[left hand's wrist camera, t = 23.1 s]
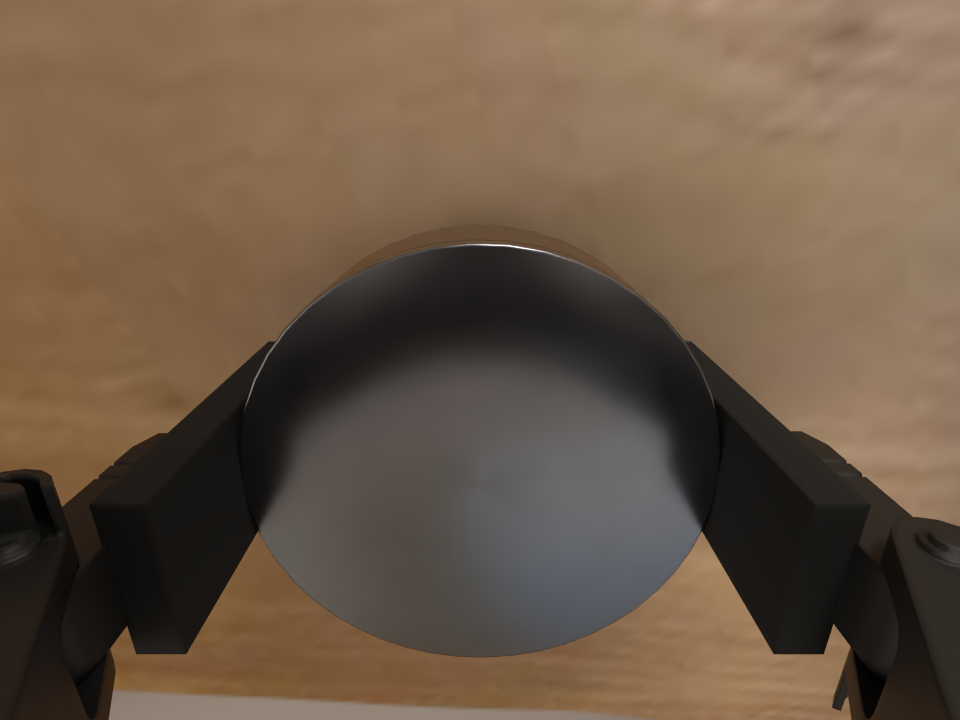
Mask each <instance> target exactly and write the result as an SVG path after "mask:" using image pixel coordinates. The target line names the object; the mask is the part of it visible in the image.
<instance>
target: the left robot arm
mask: <svg viewBox="0 0 960 720" xmlns="http://www.w3.org/2000/svg"><path fill="white" fill-rule="evenodd" d="M274 343H275V342H268V343H267V344H266V345H264V346H263V347H262V348H261V349H260V350H259V351H258V352H257V353H256V354H254V355H253V356H252V357H251V358H250V359H249V360H248V361H247V362H246V363H245V364H243V365H242V366H241V367H240V368H239V369H238V370H237V371H236V372H235V373H234V374H232V375H231V376H230V377H229V378H228V379H227V380H226V381H225V382H224V383H222V384H221V385H220V386H219V387H218V388H217V389H216V390H215V391H214V392H213V393H211V394H210V395H209V396H208V397H207V398H206V399H205V400H204V401H203V402H202V403H200V404H199V405H198V406H197V407H196V408H195V409H194V410H193V411H192V412H190V413H189V414H188V415H187V416H186V417H185V418H184V419H183V420H182V421H181V422H179V423H178V424H177V425H176V426H175V427H174V428H173V429H172V430H171V431H170V432H168V433H159V434H157V435H155V436H153V437H151V438H149V439H147V440H145V441H143V442H141V443H139V444H137V445H135V446H133V447H132V448H131V449H130V450H128V451H127V452H126V453H125V454H124V455H123V456H121V457H120V458H119V459H118V460H117V461H115V462H114V466H110V467H108V468H107V469H106V470H105V471H104V472H103V473H101V474H100V475H99V479H94V480H93V481H92V482H91V483H90V484H89V485H87V486H86V487H85V488H84V489H83V490H82V491H80V492H79V493H78V494H77V495H76V496H75V497H73V498H72V499H71V500H70V501H69V502H67V503H66V504H65V505H64V506H63V507H62V506H61V503H60V500H59V497H58V494H57V491H56V488H55V486H54V483H53V480H52V477H51V475H49V474H47V473H46V472H44V471H42V470H31V469H22V470H14V471H6V472H1V473H0V720H109V713H110V706H111V699H112V693H113V686H114V679H115V672H116V671H115V665H114V659H113V656H112V653H111V650H110V648H111V646H112V645H113V644H114V642H115V641H116V640H117V638H118V637H119V636H120V634H121V633H122V632H123V630H124V629H125V628H126V626H128V629H129V633H130V636H131V639H132V642H133V645H134V648H135V652H136V654H186V653H187V652H188V650H189V648H190V647H191V645H192V643H193V641H194V640H195V638H196V636H197V635H198V633H199V631H200V629H201V628H202V626H203V624H204V623H205V621H206V619H207V617H208V616H209V614H210V612H211V611H212V609H213V607H214V605H215V604H216V602H217V600H218V599H219V597H220V595H221V593H222V592H223V590H224V588H225V587H226V585H227V583H228V581H229V580H230V578H231V576H232V575H233V573H234V571H235V569H236V568H237V566H238V564H239V563H240V561H241V559H242V557H243V556H244V554H245V552H246V551H247V549H248V547H249V545H250V544H251V542H252V540H253V539H254V537H255V535H256V533H257V532H258V528H257V526H256V524H255V522H254V519H253V517H252V515H251V512H250V508H249V505H248V502H247V499H246V495H245V490H244V485H243V479H242V474H241V467H240V432H241V426H242V420H243V414H244V408H245V404H246V401H247V398H248V395H249V392H250V389H251V386H252V383H253V380H254V378H255V376H256V374H257V372H258V370H259V368H260V366H261V364H262V362H263V360H264V358H265V357H266V355H267V353H268V351H269V350H270V349H271V347H272V346H273V344H274ZM686 344H687V346H688V347H689V349H690V350H691V352H692V354H693V355H694V357H695V359H696V360H697V362H698V364H699V365H700V367H701V369H702V372H703V374H704V376H705V379H706V381H707V384H708V386H709V389H710V391H711V393H712V397H713V401H714V405H715V409H716V413H717V418H718V422H719V434H720V447H721V454H720V467H719V475H718V481H717V486H716V491H715V496H714V500H713V504H712V507H711V510H710V512H709V515H708V517H707V520H706V522H705V525H704V527H703V530H702V532H703V534H704V535H705V537H706V539H707V540H708V542H709V544H710V546H711V547H712V549H713V551H714V552H715V554H716V556H717V558H718V559H719V561H720V563H721V564H722V566H723V568H724V570H725V571H726V573H727V575H728V576H729V578H730V580H731V582H732V583H733V585H734V587H735V588H736V590H737V592H738V594H739V595H740V597H741V599H742V600H743V602H744V604H745V606H746V607H747V609H748V611H749V612H750V614H751V616H752V618H753V619H754V621H755V623H756V624H757V626H758V628H759V630H760V631H761V633H762V635H763V636H764V638H765V640H766V642H767V643H768V645H769V647H770V648H771V650H772V652H773V654H824V652H825V648H826V645H827V642H828V639H829V636H830V633H831V630H832V626H833V623H834V625H835V626H836V627H837V629H838V630H839V631H840V633H841V634H842V635H843V637H844V638H845V639H846V641H847V642H848V643H849V645H850V646H851V647H850V650H849V653H848V656H847V659H846V662H845V665H844V668H843V671H842V674H841V677H840V680H839V683H838V686H837V689H836V692H835V695H834V699H833V705H832V708H834V709H837V710H840V711H841V709H842V706H843V703H844V700H845V698H847V697H848V698H849V704H850V711H851V718H852V720H960V527H959V526H956V525H952V524H949V523H946V522H943V521H939V520H934V519H927V518H920V517H914V518H913V517H912V516H911V515H910V514H909V513H908V512H906V511H905V510H904V509H903V508H902V507H901V506H899V505H898V504H897V503H896V502H895V501H893V500H892V499H891V498H890V497H889V496H888V495H886V494H885V493H884V492H883V491H882V490H880V489H879V488H878V487H877V486H876V485H875V484H873V483H872V482H871V481H870V480H869V479H867V478H866V477H862V473H860V472H859V471H858V470H857V469H856V468H854V467H853V466H852V465H851V464H847V463H846V460H845V459H844V458H843V457H841V456H840V455H839V454H838V453H837V452H836V451H834V450H833V449H832V448H831V447H830V446H829V445H827V444H825V443H823V442H821V441H819V440H817V439H815V438H813V437H811V436H809V435H807V434H805V433H804V432H802V431H789V430H788V429H787V428H786V427H785V426H784V425H783V424H782V423H781V422H779V421H778V420H777V419H776V418H775V417H774V416H773V415H772V414H771V413H769V412H768V411H767V410H766V409H765V408H764V407H763V406H762V405H761V404H760V403H758V402H757V401H756V400H755V399H754V398H753V397H752V396H751V395H750V394H749V393H747V392H746V391H745V390H744V389H743V388H742V387H741V386H740V385H739V384H737V383H736V382H735V381H734V380H733V379H732V378H731V377H730V376H729V375H728V374H726V373H725V372H724V371H723V370H722V369H721V368H720V367H719V366H718V365H716V364H715V363H714V362H713V361H712V360H711V359H710V358H709V357H708V356H707V355H705V354H704V353H703V352H702V351H701V350H700V349H699V348H698V347H697V346H696V345H694V344H693V343H692V342H686Z"/></svg>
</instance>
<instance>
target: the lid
mask: <svg viewBox="0 0 960 720" xmlns="http://www.w3.org/2000/svg"><path fill="white" fill-rule="evenodd" d="M720 454H721V447H720V434H719V422H718V418H717V413H716V409H715V405H714V401H713V397H712V393H711V391H710V389H709V386H708V384H707V381H706V379H705V376H704V374H703V372H702V369H701V367H700V365H699V364H698V362H697V360H696V359H695V357H694V355H693V354H692V352H691V350H690V349H689V347H688V346H687V344H686V342H685V341H684V340H683V338H682V337H681V336H680V335H679V334H678V332H677V331H676V330H675V329H674V328H673V326H672V325H671V324H670V323H669V322H668V321H667V319H666V318H665V317H664V316H663V315H662V314H661V313H660V312H659V311H657V310H656V309H655V308H654V307H653V306H652V305H651V304H650V303H649V302H648V301H646V300H645V299H644V298H643V297H642V296H641V295H640V294H639V293H638V292H637V291H635V290H634V289H633V288H632V287H631V286H630V285H629V284H628V283H627V282H625V281H624V280H623V279H622V278H621V277H620V276H619V275H617V274H616V273H615V272H614V271H613V270H612V269H611V268H609V267H608V266H606V265H605V264H603V263H602V262H600V261H599V260H597V259H596V258H594V257H593V256H591V255H590V254H588V253H587V252H585V251H582V250H580V249H578V248H576V247H574V246H572V245H570V244H568V243H566V242H563V241H561V240H559V239H556V238H552V237H549V236H546V235H543V234H540V233H537V232H533V231H528V230H523V229H517V228H511V227H505V226H485V225H469V226H459V227H448V228H441V229H437V230H433V231H429V232H424V233H420V234H416V235H413V236H410V237H408V238H405V239H403V240H400V241H397V242H395V243H392V244H390V245H387V246H385V247H384V248H382V249H380V250H378V251H376V252H375V253H373V254H371V255H369V256H367V257H366V258H364V259H362V260H361V261H359V262H358V263H357V264H356V265H354V266H353V267H352V268H350V269H349V270H348V271H346V272H345V273H344V274H342V275H341V276H340V277H339V278H338V279H336V280H335V281H334V282H333V283H332V284H331V285H330V286H329V287H328V288H326V289H325V290H324V291H323V292H322V293H321V294H320V295H319V296H318V297H316V298H315V299H314V300H313V301H312V302H311V303H310V304H309V305H308V306H307V307H306V308H305V309H304V310H303V311H302V312H301V313H300V314H299V315H298V316H297V317H296V318H295V319H294V320H293V321H292V322H291V323H290V324H289V325H288V326H287V327H286V328H285V329H284V331H283V332H282V333H281V335H280V336H279V338H278V339H277V340H276V342H275V343H274V344H273V346H272V347H271V349H270V350H269V351H268V353H267V355H266V357H265V358H264V360H263V362H262V364H261V366H260V368H259V370H258V372H257V374H256V376H255V378H254V380H253V383H252V386H251V389H250V392H249V395H248V398H247V401H246V404H245V408H244V414H243V420H242V426H241V432H240V467H241V474H242V479H243V485H244V490H245V495H246V499H247V502H248V505H249V508H250V512H251V515H252V517H253V519H254V522H255V524H256V526H257V528H258V530H259V532H260V534H261V537H262V539H263V540H264V542H265V544H266V545H267V547H268V548H269V550H270V551H271V553H272V554H273V556H274V558H275V559H276V561H277V562H278V563H279V564H280V566H281V567H282V568H283V569H284V570H285V572H286V573H287V574H288V575H289V576H290V577H291V579H292V580H293V581H294V582H295V583H296V584H297V585H298V586H299V587H300V588H301V589H302V590H304V591H305V592H306V593H307V594H308V595H309V596H310V597H311V598H312V599H313V600H315V601H316V602H317V603H319V604H320V605H321V606H323V607H324V608H325V609H327V610H328V611H329V612H331V613H332V614H334V615H335V616H337V617H339V618H340V619H342V620H344V621H345V622H347V623H349V624H351V625H352V626H354V627H356V628H358V629H360V630H362V631H364V632H367V633H369V634H371V635H373V636H375V637H378V638H380V639H382V640H385V641H389V642H392V643H395V644H398V645H401V646H404V647H407V648H411V649H416V650H420V651H425V652H429V653H434V654H442V655H450V656H458V657H498V656H513V655H519V654H525V653H531V652H537V651H541V650H545V649H549V648H553V647H556V646H560V645H564V644H567V643H569V642H572V641H575V640H577V639H580V638H583V637H585V636H588V635H590V634H592V633H594V632H596V631H598V630H600V629H602V628H604V627H606V626H608V625H610V624H612V623H614V622H616V621H617V620H619V619H620V618H622V617H623V616H625V615H626V614H628V613H629V612H631V611H633V610H634V609H636V608H637V607H638V606H639V605H641V604H642V603H643V602H644V601H645V600H647V599H648V598H649V597H650V596H652V595H653V594H654V593H655V592H656V591H657V590H658V589H659V588H660V587H661V586H662V585H663V584H664V583H665V582H666V581H667V580H668V579H669V578H670V577H671V576H672V575H673V574H674V573H675V571H676V570H677V569H678V567H679V566H680V565H681V563H682V562H683V561H684V559H685V558H686V557H687V555H688V554H689V553H690V551H691V549H692V547H693V546H694V544H695V542H696V540H697V539H698V537H699V535H700V533H701V531H702V530H703V527H704V525H705V522H706V520H707V517H708V515H709V512H710V510H711V507H712V504H713V500H714V496H715V491H716V486H717V481H718V475H719V467H720Z"/></svg>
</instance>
